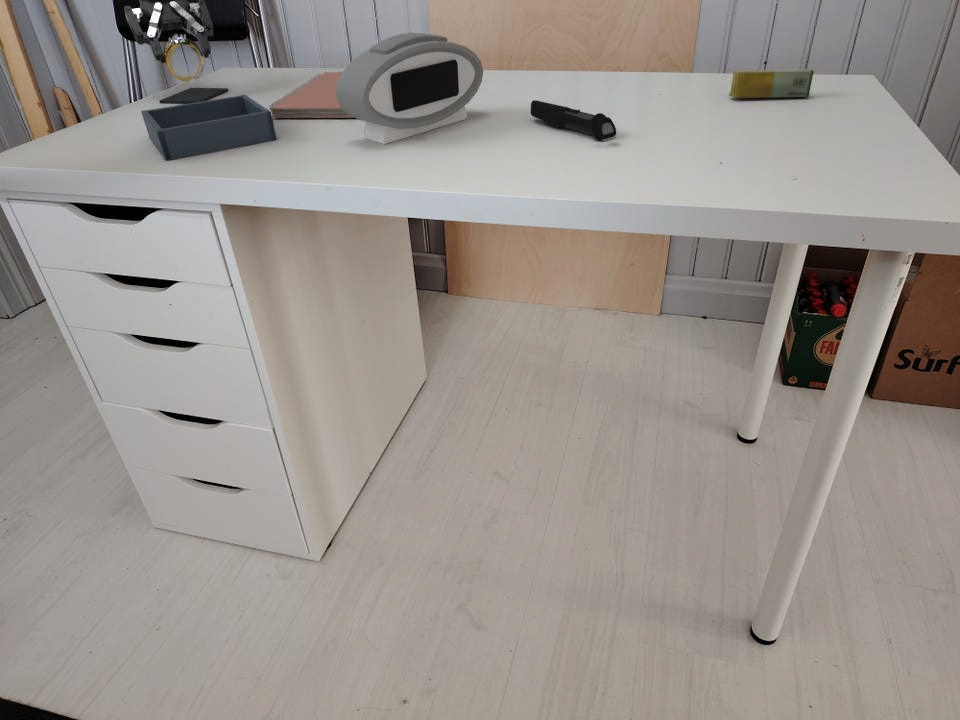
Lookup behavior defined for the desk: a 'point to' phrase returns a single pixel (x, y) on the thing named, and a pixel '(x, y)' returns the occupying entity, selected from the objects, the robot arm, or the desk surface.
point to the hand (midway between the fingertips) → (185, 57)
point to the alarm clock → (409, 85)
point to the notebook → (311, 100)
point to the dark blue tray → (208, 126)
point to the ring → (173, 44)
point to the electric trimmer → (574, 119)
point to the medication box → (771, 83)
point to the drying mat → (194, 95)
